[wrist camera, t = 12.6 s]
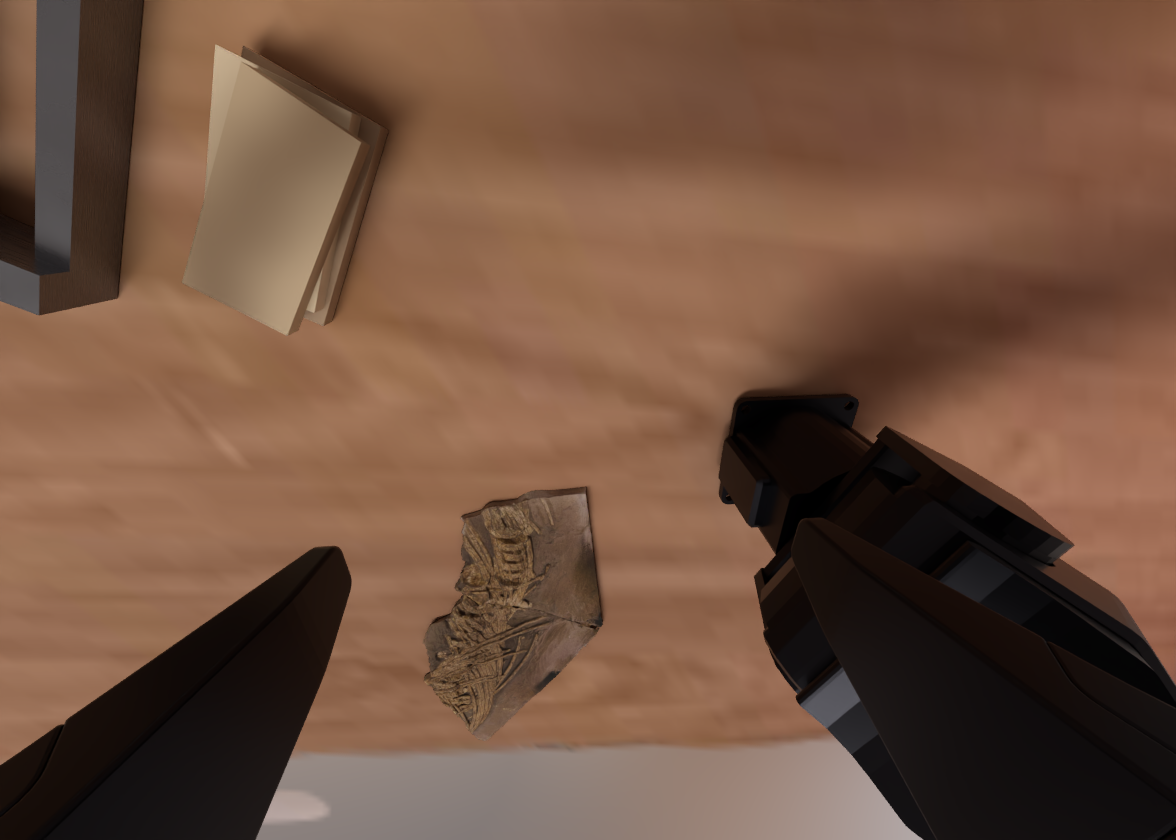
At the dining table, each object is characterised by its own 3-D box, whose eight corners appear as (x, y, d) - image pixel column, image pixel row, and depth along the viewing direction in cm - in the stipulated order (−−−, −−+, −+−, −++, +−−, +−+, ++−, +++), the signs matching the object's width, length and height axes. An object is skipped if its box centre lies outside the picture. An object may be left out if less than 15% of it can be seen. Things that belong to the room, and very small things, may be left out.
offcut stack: (391, 132, 16) (367, 120, 13) (333, 327, 19) (305, 343, 16) (250, 48, 14) (197, 21, 12) (211, 274, 17) (163, 283, 15)
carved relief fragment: (480, 456, 22) (477, 467, 22) (663, 504, 25) (668, 516, 24) (397, 724, 33) (393, 740, 32) (533, 738, 35) (532, 753, 35)
